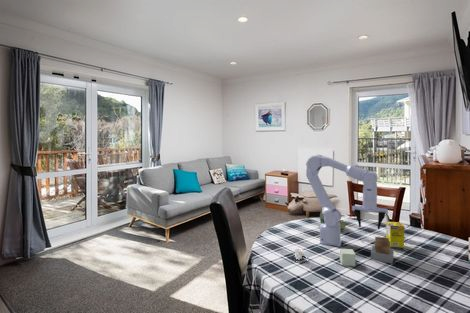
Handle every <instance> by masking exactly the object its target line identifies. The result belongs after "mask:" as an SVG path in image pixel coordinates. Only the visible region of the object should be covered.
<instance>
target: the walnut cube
mask: <svg viewBox="0 0 470 313" xmlns="http://www.w3.org/2000/svg"><path fill="white" fill-rule="evenodd" d="M374 241H375V242H374V246H375V249H376V252H377V253H385V254H390V249H391V248H390V241H389V239H388V238H386V237H381V236H374Z"/></svg>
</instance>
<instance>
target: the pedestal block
mask: <svg viewBox="0 0 470 313" xmlns="http://www.w3.org/2000/svg"><path fill="white" fill-rule="evenodd" d="M394 251H395V250H394V248H390V254H385V253H377V252H376V249H375V245H372V248H371V251H370V260H372V261H378V262H382V263H386V264H391V265H393V263H394V255H395V254H394Z"/></svg>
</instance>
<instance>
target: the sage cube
mask: <svg viewBox="0 0 470 313" xmlns="http://www.w3.org/2000/svg"><path fill="white" fill-rule="evenodd" d="M339 262H340V264H341V266H346V267H356V253H355V251H354V250H353V249H351V248H339Z"/></svg>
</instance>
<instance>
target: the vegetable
mask: <svg viewBox="0 0 470 313" xmlns="http://www.w3.org/2000/svg"><path fill="white" fill-rule="evenodd" d="M319 220H320V221H319V222H320V225H321V224H325V222H324V216H323V213H322V210H321V211H320V214H319ZM339 223H340V224H341V230H344V229H345V228H346V227H347V223H346V222H345V221H343V220H342V221H341V220H340V221H339Z"/></svg>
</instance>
